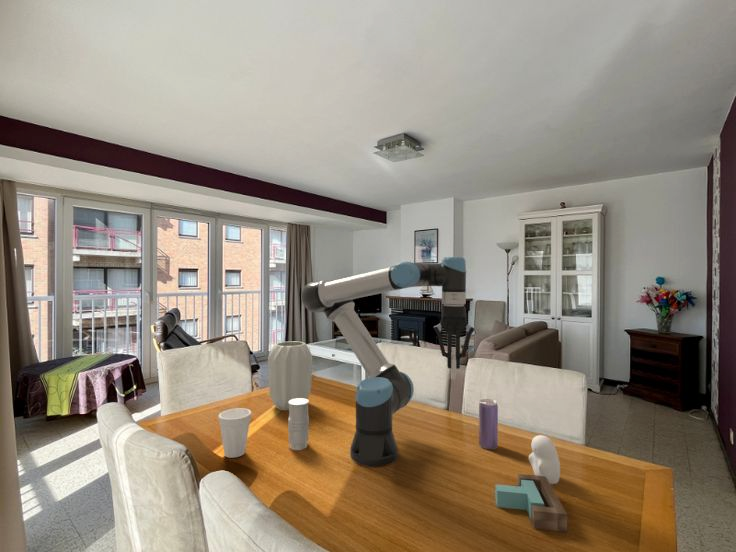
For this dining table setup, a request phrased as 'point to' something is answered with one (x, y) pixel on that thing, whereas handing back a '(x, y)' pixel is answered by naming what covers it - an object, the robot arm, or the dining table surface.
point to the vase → (289, 372)
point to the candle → (298, 423)
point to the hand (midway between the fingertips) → (453, 378)
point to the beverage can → (488, 424)
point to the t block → (518, 496)
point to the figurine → (545, 459)
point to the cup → (234, 431)
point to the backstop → (546, 506)
